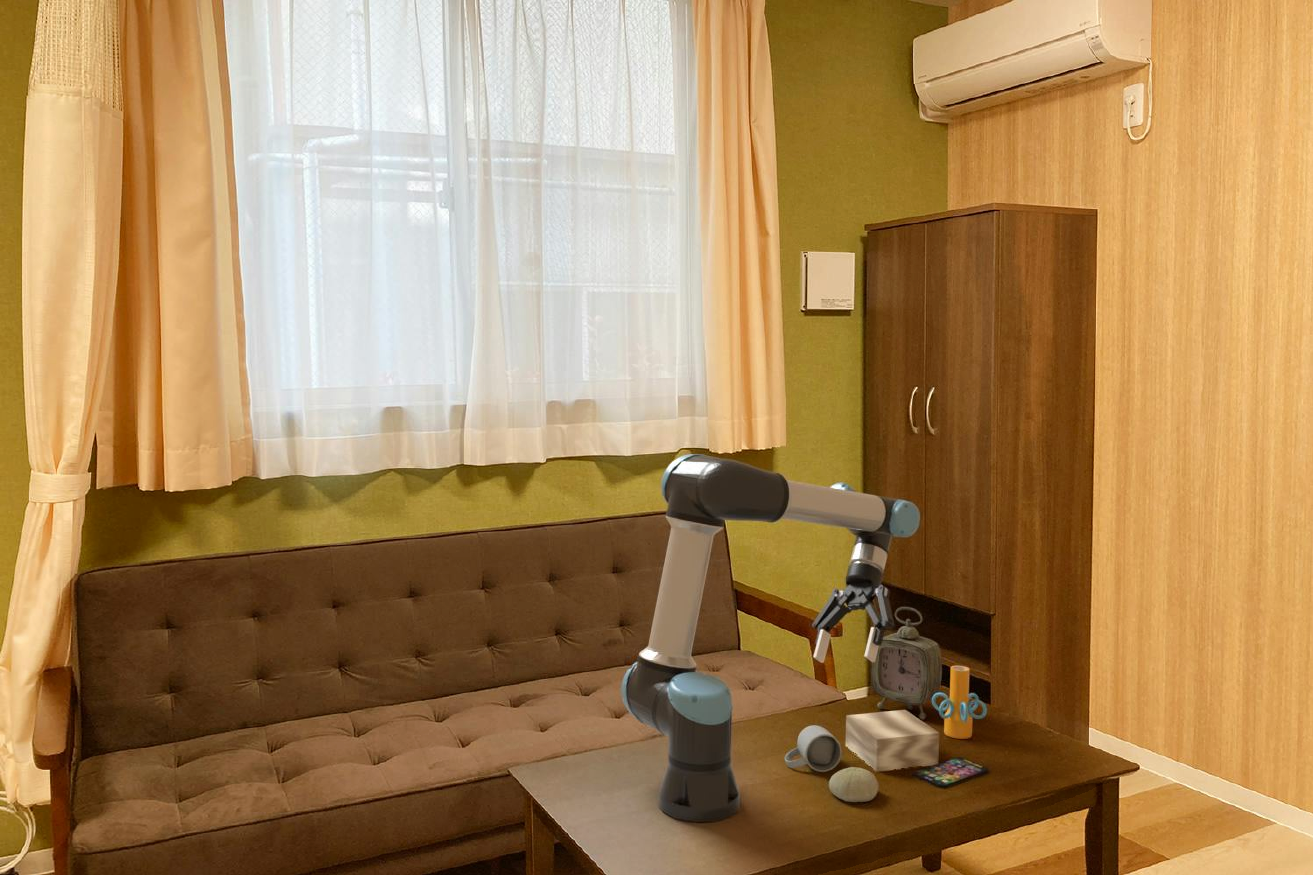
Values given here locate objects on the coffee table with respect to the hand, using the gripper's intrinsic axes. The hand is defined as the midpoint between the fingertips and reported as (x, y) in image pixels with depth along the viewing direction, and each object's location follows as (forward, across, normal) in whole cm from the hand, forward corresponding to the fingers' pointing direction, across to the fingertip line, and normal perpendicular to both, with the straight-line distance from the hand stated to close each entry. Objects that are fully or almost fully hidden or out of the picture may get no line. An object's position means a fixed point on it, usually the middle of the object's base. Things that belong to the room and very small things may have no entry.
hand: (843, 659), depth 214 cm
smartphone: (+15, -15, -22) cm, 31 cm away
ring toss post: (+1, -5, -36) cm, 37 cm away
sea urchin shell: (+27, -9, -3) cm, 28 cm away
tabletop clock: (-4, +11, -37) cm, 39 cm away
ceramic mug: (+21, +5, -4) cm, 23 cm away
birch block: (+13, -2, -19) cm, 23 cm away
